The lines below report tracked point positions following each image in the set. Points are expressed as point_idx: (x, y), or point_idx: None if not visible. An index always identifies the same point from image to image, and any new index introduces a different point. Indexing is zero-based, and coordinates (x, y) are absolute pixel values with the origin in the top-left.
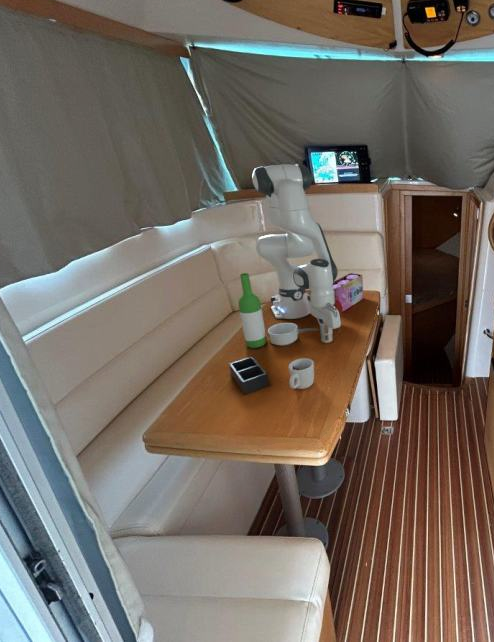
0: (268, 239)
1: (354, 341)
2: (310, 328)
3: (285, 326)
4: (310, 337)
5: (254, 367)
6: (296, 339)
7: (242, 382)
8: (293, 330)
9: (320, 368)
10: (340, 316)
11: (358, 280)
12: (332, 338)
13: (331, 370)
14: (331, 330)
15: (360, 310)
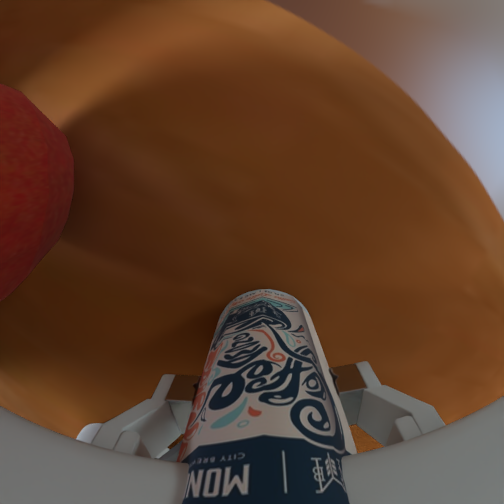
0: None
1: (405, 157)
2: (171, 460)
3: None
4: (150, 382)
5: None
6: (166, 448)
7: None
8: (87, 436)
9: (464, 410)
10: (33, 116)
11: None
12: (298, 306)
13: (499, 378)
14: (375, 386)
15: (25, 5)
